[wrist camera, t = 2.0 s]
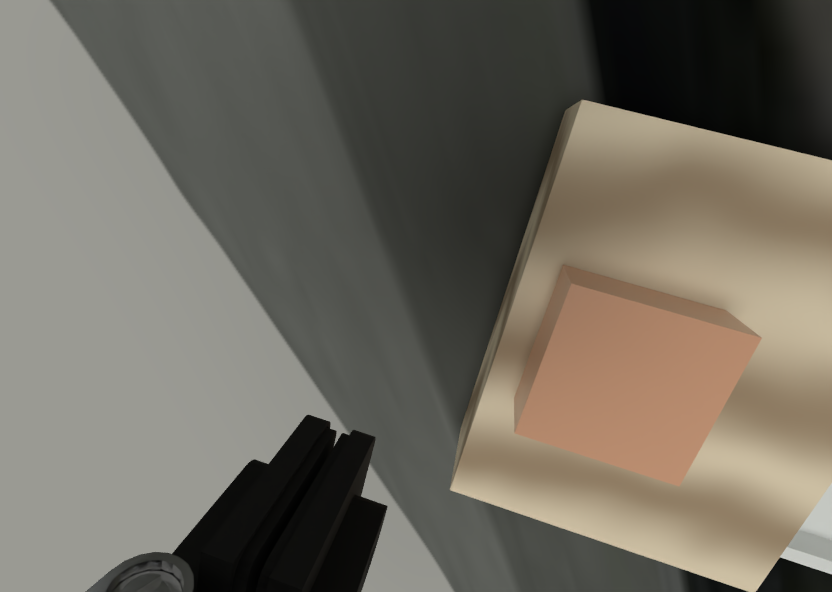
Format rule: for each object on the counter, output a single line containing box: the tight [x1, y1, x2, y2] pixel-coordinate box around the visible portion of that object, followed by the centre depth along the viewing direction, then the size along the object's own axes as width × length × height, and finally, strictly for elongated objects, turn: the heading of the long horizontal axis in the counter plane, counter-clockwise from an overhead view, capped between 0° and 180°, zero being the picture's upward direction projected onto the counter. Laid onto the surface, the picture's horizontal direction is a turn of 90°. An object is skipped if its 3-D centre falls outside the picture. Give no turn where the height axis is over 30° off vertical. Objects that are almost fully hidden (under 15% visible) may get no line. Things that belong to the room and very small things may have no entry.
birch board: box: [450, 100, 832, 592], centre depth 24 cm, size 20×16×6 cm
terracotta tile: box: [514, 265, 762, 486], centre depth 20 cm, size 7×7×3 cm
